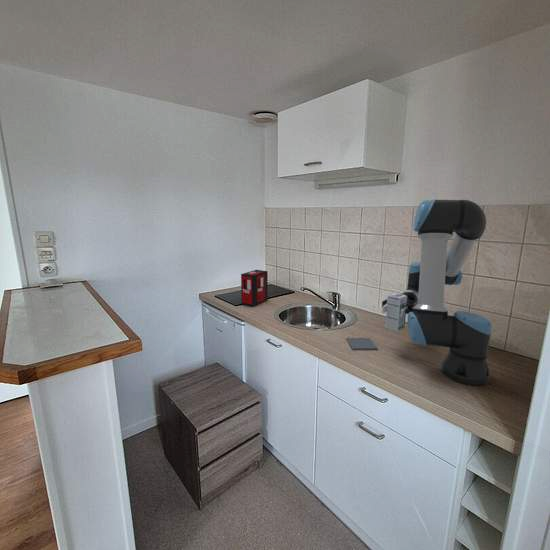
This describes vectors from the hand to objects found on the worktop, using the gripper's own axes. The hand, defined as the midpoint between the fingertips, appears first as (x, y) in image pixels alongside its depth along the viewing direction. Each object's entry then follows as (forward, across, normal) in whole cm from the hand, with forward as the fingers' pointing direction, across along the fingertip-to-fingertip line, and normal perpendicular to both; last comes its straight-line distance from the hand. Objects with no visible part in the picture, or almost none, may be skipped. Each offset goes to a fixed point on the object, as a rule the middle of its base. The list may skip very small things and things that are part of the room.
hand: (392, 311), depth 123 cm
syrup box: (-5, 0, -9) cm, 10 cm away
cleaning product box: (-20, +93, -20) cm, 97 cm away
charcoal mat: (-4, +14, -20) cm, 24 cm away
